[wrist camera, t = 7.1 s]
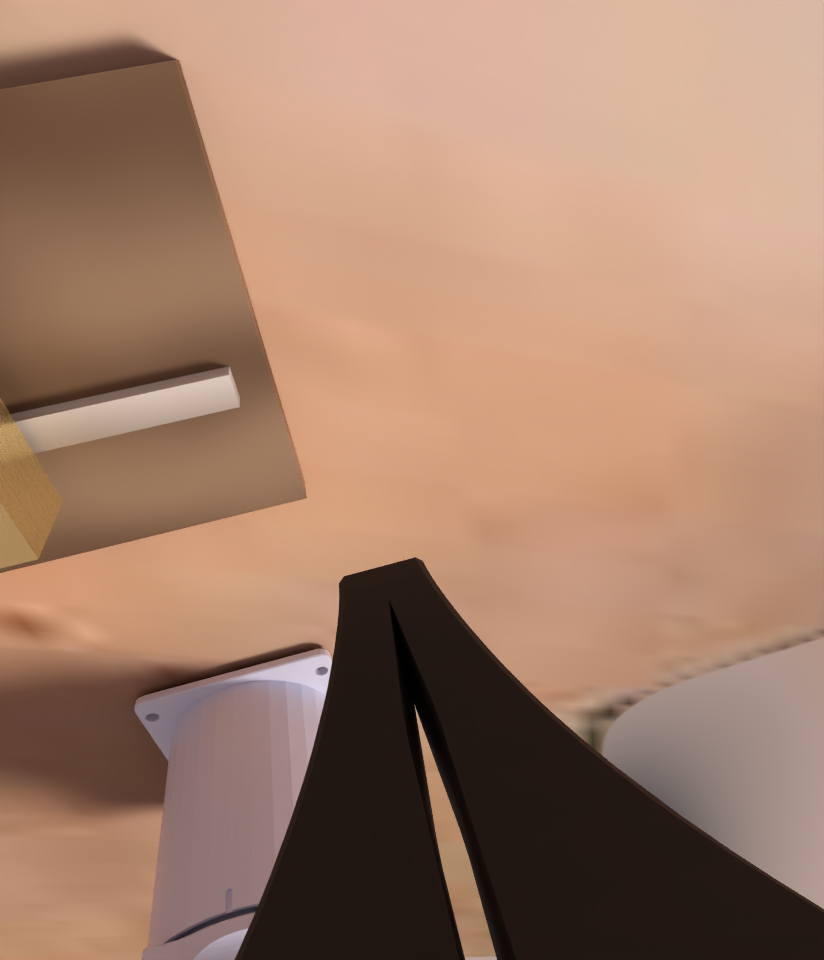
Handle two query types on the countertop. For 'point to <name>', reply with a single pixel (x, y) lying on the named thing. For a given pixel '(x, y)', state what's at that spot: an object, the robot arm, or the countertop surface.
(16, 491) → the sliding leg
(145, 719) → the robot arm
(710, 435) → the countertop surface
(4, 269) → the gauge board
